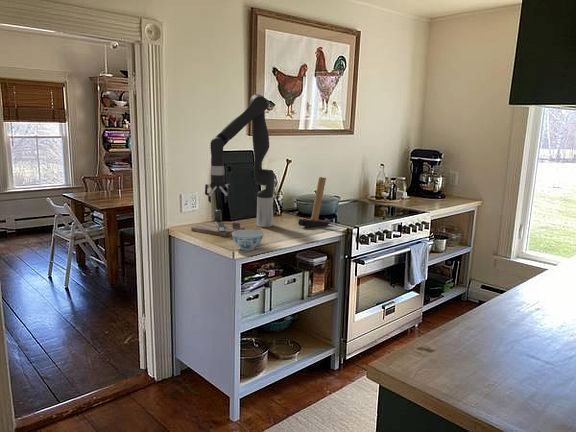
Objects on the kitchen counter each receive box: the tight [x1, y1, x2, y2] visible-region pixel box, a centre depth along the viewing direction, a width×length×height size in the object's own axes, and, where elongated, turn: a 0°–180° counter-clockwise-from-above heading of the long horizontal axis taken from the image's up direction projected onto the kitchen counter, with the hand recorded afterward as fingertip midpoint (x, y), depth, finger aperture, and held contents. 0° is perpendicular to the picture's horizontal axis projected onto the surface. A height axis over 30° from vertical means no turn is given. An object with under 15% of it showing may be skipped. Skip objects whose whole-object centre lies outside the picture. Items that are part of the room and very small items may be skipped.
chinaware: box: [231, 229, 264, 252], centre depth 216 cm, size 15×15×8 cm
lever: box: [213, 209, 225, 231], centre depth 250 cm, size 19×4×8 cm, turn 15°
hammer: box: [298, 176, 332, 229], centre depth 268 cm, size 20×5×30 cm, turn 122°
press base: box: [190, 221, 246, 238], centre depth 252 cm, size 17×24×5 cm
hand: (218, 202), depth 256 cm, fingers open, 8 cm apart
